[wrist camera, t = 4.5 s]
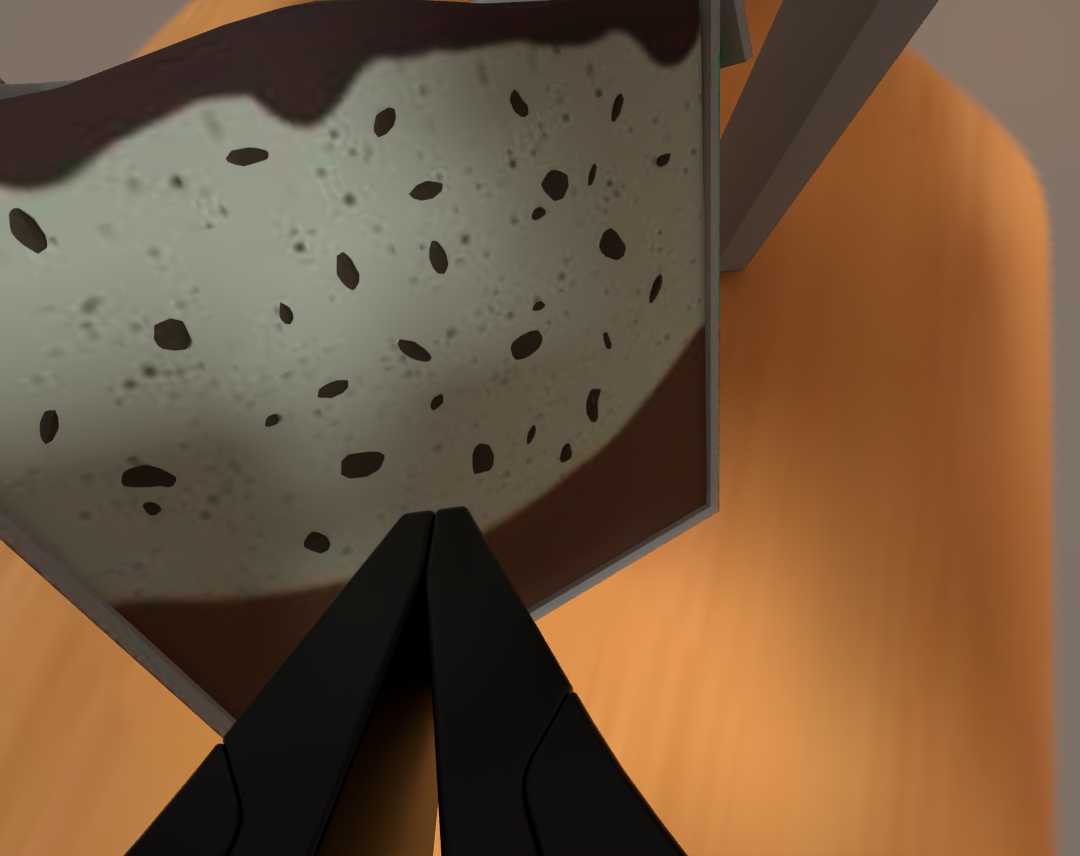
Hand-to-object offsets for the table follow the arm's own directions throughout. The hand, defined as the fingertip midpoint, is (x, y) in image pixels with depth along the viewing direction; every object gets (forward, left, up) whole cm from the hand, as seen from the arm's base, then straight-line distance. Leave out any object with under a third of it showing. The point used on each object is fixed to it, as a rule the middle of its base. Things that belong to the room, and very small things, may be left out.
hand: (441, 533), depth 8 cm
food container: (0, 0, -5) cm, 5 cm away
